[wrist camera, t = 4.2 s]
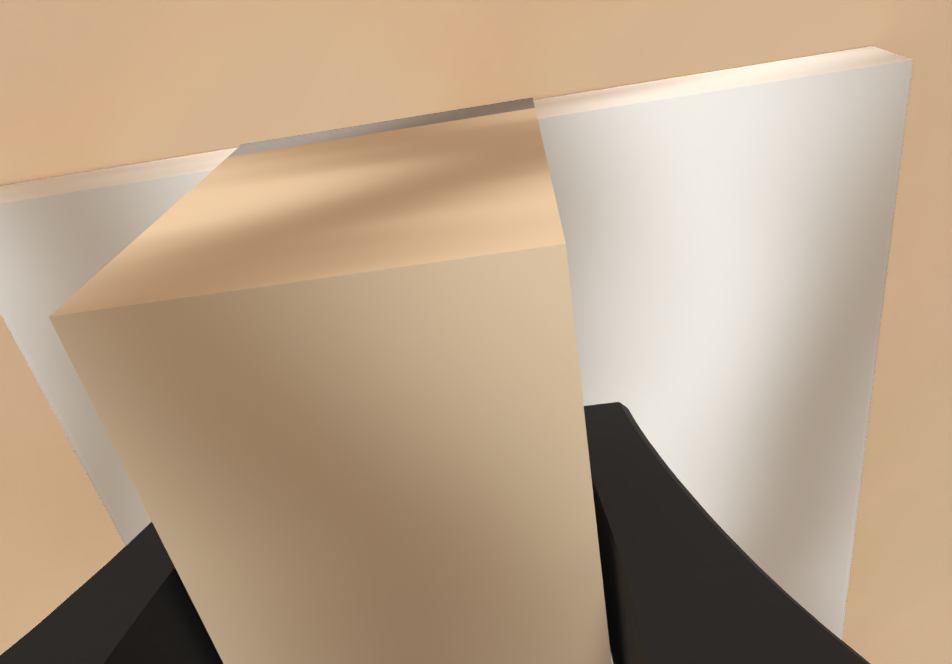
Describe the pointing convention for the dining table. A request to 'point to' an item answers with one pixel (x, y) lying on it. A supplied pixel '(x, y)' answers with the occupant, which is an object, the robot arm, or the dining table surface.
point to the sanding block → (360, 397)
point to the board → (629, 286)
